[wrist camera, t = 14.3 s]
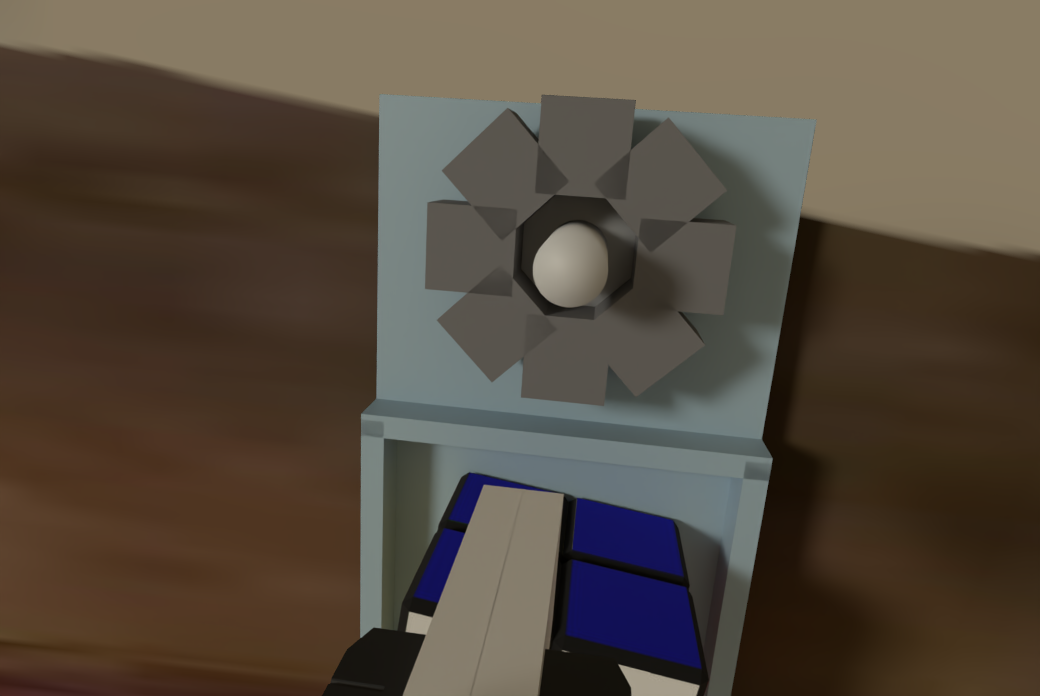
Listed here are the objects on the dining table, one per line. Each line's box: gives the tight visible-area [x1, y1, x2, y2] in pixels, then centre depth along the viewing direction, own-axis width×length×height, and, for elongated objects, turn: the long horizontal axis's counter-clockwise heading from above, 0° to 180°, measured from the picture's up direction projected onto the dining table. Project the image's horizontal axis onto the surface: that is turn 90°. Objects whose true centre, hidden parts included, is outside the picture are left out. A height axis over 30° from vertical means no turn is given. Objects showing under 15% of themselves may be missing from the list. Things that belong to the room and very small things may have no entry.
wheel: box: [425, 95, 737, 406], centre depth 26 cm, size 11×11×2 cm
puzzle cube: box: [397, 472, 709, 696], centre depth 27 cm, size 10×10×10 cm
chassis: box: [360, 94, 816, 696], centre depth 28 cm, size 30×17×8 cm, turn 176°
